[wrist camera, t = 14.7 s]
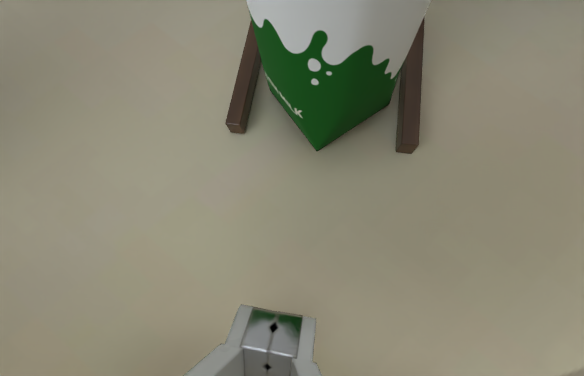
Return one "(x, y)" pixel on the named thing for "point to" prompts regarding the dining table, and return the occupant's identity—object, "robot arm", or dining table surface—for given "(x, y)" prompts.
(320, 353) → the dining table surface
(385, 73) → the soya milk
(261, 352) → the robot arm
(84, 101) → the dining table surface
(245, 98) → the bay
